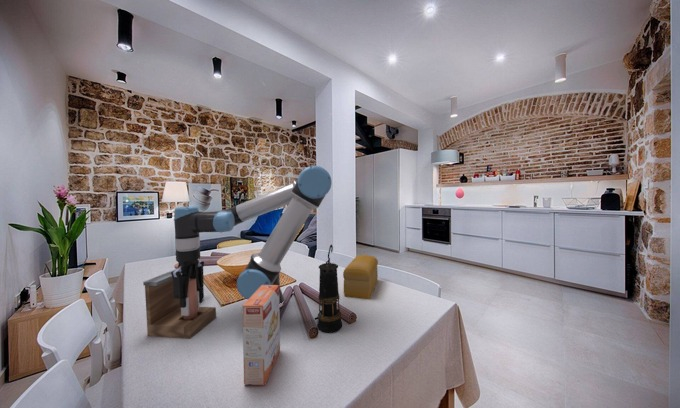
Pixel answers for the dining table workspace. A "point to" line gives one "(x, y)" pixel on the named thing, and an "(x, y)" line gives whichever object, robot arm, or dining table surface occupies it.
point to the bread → (360, 277)
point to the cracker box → (261, 334)
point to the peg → (192, 299)
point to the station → (171, 310)
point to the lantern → (329, 298)
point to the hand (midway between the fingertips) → (190, 311)
